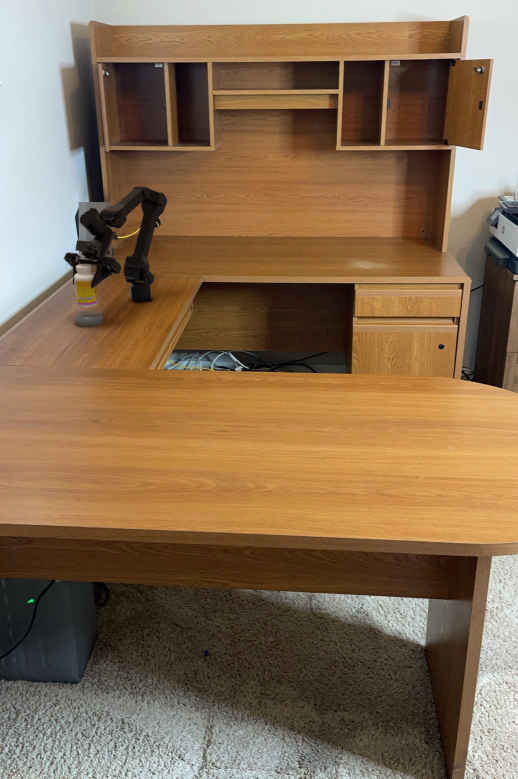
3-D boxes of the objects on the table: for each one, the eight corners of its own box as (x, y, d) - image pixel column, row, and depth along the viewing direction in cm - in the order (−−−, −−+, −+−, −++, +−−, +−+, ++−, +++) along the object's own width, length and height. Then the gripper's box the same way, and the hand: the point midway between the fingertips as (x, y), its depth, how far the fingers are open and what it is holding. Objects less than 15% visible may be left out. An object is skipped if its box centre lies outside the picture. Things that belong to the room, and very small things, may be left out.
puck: (99, 317, 234) (98, 308, 233) (106, 325, 227) (105, 316, 225) (72, 320, 231) (71, 312, 229) (77, 329, 223) (76, 319, 222)
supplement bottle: (99, 307, 225) (96, 267, 219) (78, 309, 222) (74, 269, 217) (96, 301, 230) (92, 262, 225) (75, 303, 228) (71, 264, 223)
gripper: (63, 226, 224) (44, 269, 219) (112, 232, 217) (94, 276, 212) (82, 246, 233) (64, 287, 229) (129, 252, 226) (112, 294, 222)
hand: (82, 286), depth 223 cm, fingers closed on supplement bottle, 6 cm apart
